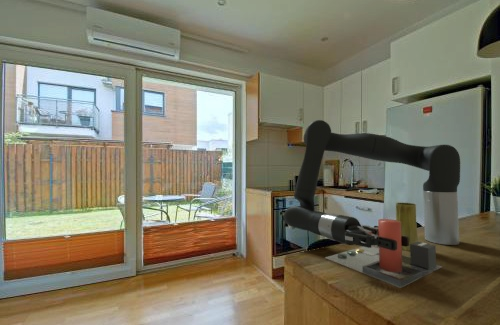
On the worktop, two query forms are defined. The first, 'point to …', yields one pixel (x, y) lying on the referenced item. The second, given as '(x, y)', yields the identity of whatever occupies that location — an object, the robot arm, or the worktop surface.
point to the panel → (369, 264)
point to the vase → (407, 222)
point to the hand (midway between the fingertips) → (402, 243)
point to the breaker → (423, 255)
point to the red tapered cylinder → (387, 257)
